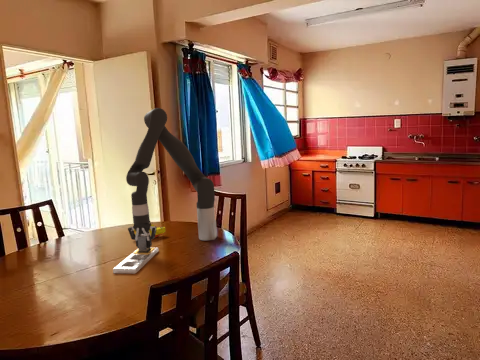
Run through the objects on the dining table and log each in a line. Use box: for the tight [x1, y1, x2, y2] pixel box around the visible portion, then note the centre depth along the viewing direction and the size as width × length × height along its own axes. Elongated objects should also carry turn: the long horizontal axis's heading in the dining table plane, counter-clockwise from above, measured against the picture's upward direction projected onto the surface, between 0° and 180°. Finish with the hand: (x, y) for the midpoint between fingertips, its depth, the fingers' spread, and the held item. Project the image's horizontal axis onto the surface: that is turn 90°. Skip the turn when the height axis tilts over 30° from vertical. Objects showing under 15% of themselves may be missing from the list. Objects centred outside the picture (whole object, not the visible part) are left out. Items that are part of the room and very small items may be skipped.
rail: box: [112, 246, 159, 275], centre depth 159 cm, size 10×26×2 cm, turn 172°
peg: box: [137, 234, 150, 253], centre depth 167 cm, size 4×4×10 cm
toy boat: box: [133, 221, 166, 241], centre depth 192 cm, size 6×18×10 cm, turn 115°
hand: (144, 247), depth 167 cm, fingers open, 4 cm apart
